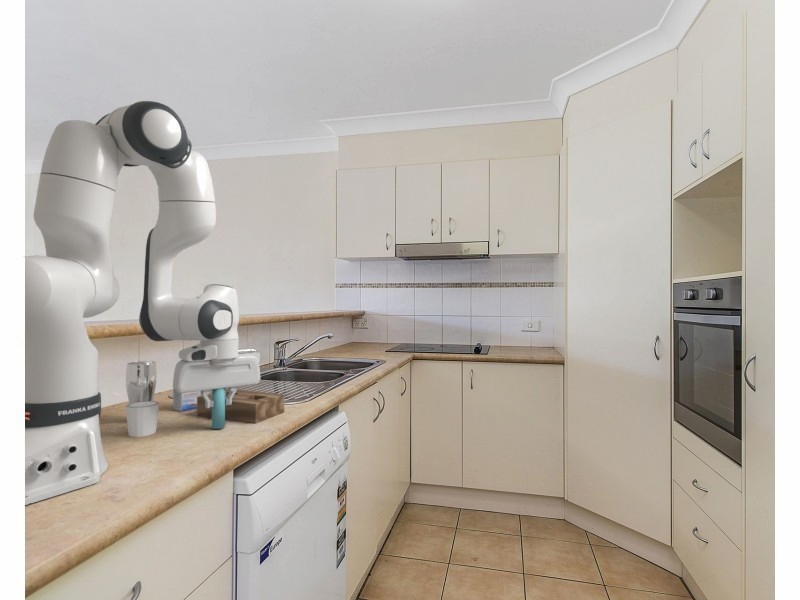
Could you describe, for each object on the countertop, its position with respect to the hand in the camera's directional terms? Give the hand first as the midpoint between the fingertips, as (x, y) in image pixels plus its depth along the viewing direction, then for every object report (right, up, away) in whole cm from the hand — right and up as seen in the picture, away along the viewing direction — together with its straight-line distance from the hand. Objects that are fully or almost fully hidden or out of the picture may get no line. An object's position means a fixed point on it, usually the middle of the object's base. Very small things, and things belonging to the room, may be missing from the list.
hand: (218, 406), depth 106 cm
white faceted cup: (-16, -6, -4) cm, 18 cm away
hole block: (+1, -6, +14) cm, 15 cm away
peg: (0, -5, 0) cm, 5 cm away
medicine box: (-17, -6, +19) cm, 26 cm away
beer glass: (-24, -5, +7) cm, 25 cm away
